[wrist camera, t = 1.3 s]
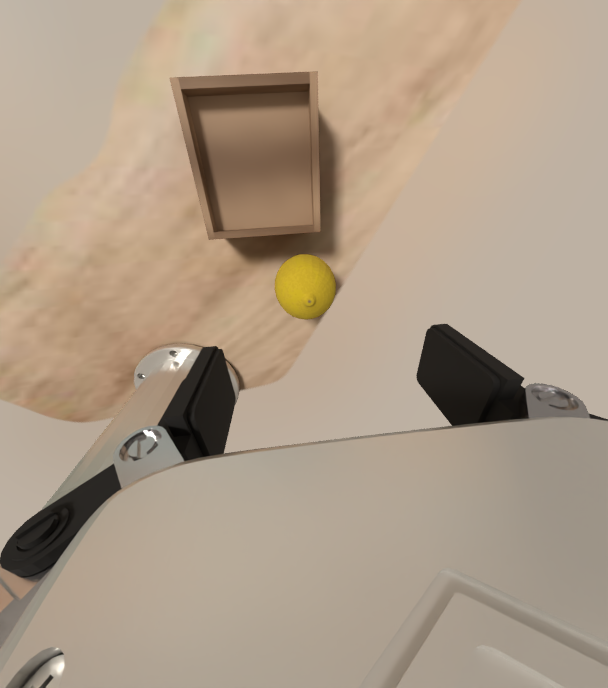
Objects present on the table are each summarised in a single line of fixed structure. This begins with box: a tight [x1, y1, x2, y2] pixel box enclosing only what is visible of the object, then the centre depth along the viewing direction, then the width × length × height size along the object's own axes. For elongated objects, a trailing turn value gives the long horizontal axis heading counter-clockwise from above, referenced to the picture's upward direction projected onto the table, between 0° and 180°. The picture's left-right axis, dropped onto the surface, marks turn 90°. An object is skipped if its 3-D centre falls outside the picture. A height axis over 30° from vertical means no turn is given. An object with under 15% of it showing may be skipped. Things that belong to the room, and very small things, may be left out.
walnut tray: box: [170, 72, 321, 240], centre depth 18 cm, size 9×9×4 cm
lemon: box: [275, 254, 336, 319], centre depth 22 cm, size 6×6×8 cm
